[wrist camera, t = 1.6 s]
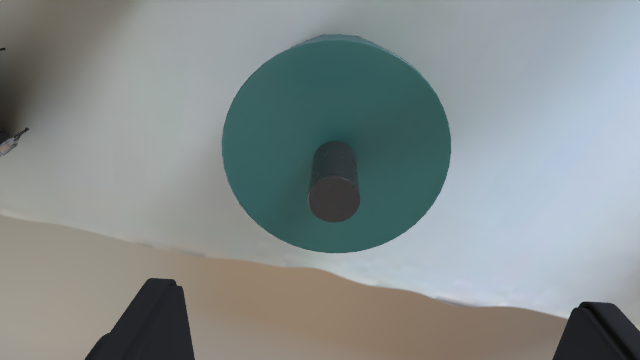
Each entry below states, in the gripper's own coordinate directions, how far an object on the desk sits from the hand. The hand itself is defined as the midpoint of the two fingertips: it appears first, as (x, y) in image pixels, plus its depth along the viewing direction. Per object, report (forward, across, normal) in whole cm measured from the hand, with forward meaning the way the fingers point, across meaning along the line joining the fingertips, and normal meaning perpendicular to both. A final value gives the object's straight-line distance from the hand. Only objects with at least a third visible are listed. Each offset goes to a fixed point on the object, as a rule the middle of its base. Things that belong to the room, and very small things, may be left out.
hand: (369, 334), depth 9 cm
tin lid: (+15, +1, +1) cm, 15 cm away
